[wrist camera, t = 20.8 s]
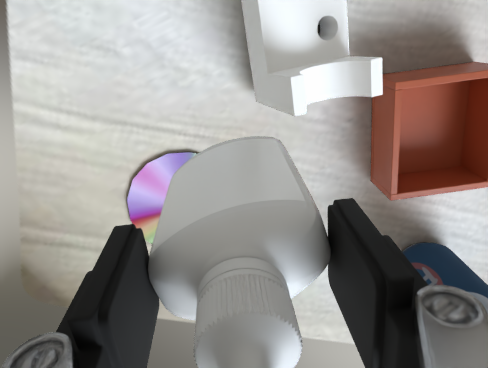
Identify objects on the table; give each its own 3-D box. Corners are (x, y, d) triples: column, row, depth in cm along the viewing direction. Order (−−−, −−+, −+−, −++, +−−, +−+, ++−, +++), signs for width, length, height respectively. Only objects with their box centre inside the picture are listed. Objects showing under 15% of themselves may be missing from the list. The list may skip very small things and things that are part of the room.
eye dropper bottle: (177, 121, 17) (99, 311, 6) (297, 138, 17) (436, 337, 6) (168, 206, 18) (96, 482, 7) (278, 219, 19) (363, 487, 8)
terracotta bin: (372, 75, 33) (395, 82, 28) (474, 61, 33) (512, 66, 28) (370, 180, 37) (390, 200, 32) (461, 168, 37) (493, 186, 32)
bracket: (328, 85, 33) (382, 94, 27) (255, 101, 32) (294, 116, 25) (316, -86, 28) (380, -127, 22) (229, -77, 27) (269, -119, 20)
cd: (110, 165, 34) (110, 165, 34) (230, 140, 34) (230, 140, 34) (146, 264, 38) (146, 264, 38) (252, 242, 38) (252, 243, 38)
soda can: (388, 242, 40) (455, 325, 28) (451, 232, 40) (542, 311, 29) (387, 293, 42) (447, 387, 31) (446, 284, 42) (527, 374, 31)
